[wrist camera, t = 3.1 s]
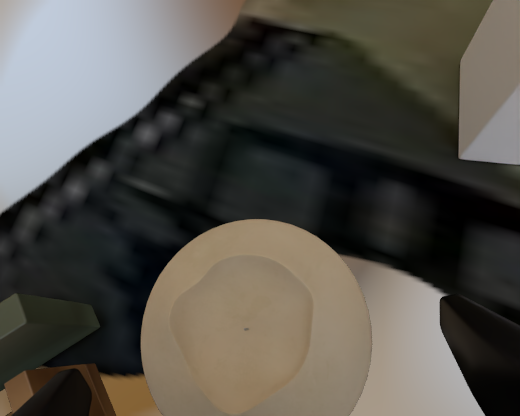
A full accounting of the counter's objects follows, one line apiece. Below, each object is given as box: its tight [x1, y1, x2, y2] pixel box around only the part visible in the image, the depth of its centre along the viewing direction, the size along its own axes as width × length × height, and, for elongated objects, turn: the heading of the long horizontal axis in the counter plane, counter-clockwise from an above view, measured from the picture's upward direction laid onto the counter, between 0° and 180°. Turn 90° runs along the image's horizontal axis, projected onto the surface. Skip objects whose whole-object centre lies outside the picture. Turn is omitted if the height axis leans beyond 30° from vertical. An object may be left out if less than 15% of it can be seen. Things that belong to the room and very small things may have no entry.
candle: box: [141, 219, 372, 416], centre depth 12 cm, size 6×6×10 cm
